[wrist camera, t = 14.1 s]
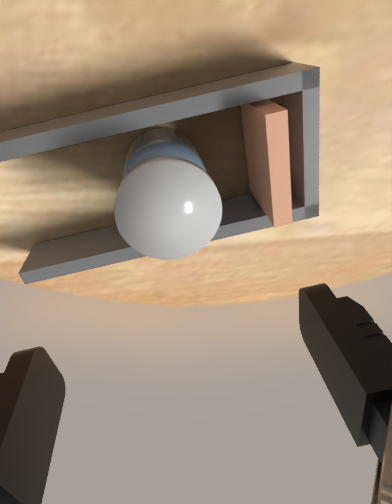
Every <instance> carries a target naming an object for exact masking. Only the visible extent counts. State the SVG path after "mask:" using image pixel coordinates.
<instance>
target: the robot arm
mask: <svg viewBox="0 0 392 504" xmlns="http://www.w3.org/2000/svg"><path fill="white" fill-rule="evenodd" d="M299 324H300V330H301V334H302V337H303V339H304V342H305V344H306V346H307V348H308V350H309V352H310V354H311V356H312V358H313V360H314V362H315V364H316V366H317V368H318V370H319V372H320V374H321V375H322V378H323V380H324V382H325V383H326V386H327V388H328V390H329V392H330V393H331V395H332V397H333V399H334V401H335V403H336V405H337V407H338V409H339V411H340V413H341V415H342V417H343V419H344V421H345V423H346V425H347V427H348V429H349V431H350V433H351V435H352V437H353V439H354V441H355V443H356V445H357V447H359V446H364V445H368V444H371V446H372V448H373V450H374V451H375V453H376V455H377V457H378V460H377V467H376V474H375V481H374V488H373V495H372V501H371V504H392V343H391V342H390V340H389V339H388V338H387V336H386V335H384V334H383V331H382V330H381V329H380V328H379V326H378V325H377V324H376V323H374V320H373V319H372V317H371V316H370V315H369V314H368V312H367V311H366V310H365V308H364V307H363V306H362V305H360V304H358V303H357V302H355V301H354V300H352V299H351V298H349V297H347V296H346V297H341V298H336V297H335V295H334V294H333V292H332V291H331V290H330V288H329V287H328V286H327V285H326V284H325V283H323V284H319V285H314V286H310V287H305V288H301V289H300V290H299ZM64 398H65V382H64V379H63V376H62V374H61V373H60V371H59V370H58V369H57V367H56V365H55V364H54V363H53V361H52V359H51V358H50V357H49V355H48V353H47V352H46V350H45V349H44V348H43V347H35V348H31V349H27V350H22V351H18V352H15V353H13V354H12V356H11V357H10V360H9V362H8V365H7V367H6V369H5V372H4V373H0V504H41V503H42V498H43V494H44V489H45V485H46V480H47V476H48V471H49V466H50V462H51V457H52V453H53V448H54V444H55V439H56V435H57V430H58V425H59V420H60V416H61V412H62V407H63V402H64Z"/></svg>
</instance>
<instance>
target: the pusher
mask: <svg viewBox="0 0 392 504" xmlns="http://www.w3.org/2000/svg"><path fill="white" fill-rule="evenodd" d="M240 107H241V115H242V124H243V132H244V141H245V150H246V158H247V167H248V175H249V184H250V191H251V193H252V194H253V196H254V197H255V199H256V200H257V202H258V204H259V205H260V207H261V208H262V210H263V211H264V213H265V214H266V216H267V217H268V219H269V220H270V222H271V223H272V225H273V226H274V227H278V226H282V225H286V224H290V223H293V222H292V200H291V177H290V154H289V131H288V110H287V109H285V108H283V107H281V106H280V105H278V104H276V103H274V102H272V101H270V100H268V99H265V100H260V101H256V102H252V103H248V104H243V105H240Z"/></svg>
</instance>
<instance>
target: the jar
mask: <svg viewBox="0 0 392 504" xmlns="http://www.w3.org/2000/svg"><path fill="white" fill-rule="evenodd" d="M114 217H115V222H116V225H117V228H118V230H119V233H120V234H121V236H122V237H123V239H124V240H125V241H126V242H127V243H128V244H129V245H130V246H131V247H132V248H134V249H135V250H136V251H138V252H140V253H142V254H144V255H146V256H149V257H152V258H157V259H178V258H182V257H186V256H189V255H191V254H193V253H195V252H197V251H199V250H200V249H202V248H203V247H204V246H205V245H206V244H208V243H209V241H210V240H211V239H212V238H213V237H214V235H215V234H216V232H217V230H218V228H219V225H220V222H221V218H222V202H221V198H220V195H219V192H218V190H217V187H216V185H215V183H214V182H213V180H212V178H211V177H210V176H209V175H208V173H207V171H206V169H205V167H204V165H203V162H202V160H201V158H200V155H199V153H198V151H197V149H196V147H195V145H194V144H193V142H192V141H191V140H190V139H189V138H188V137H187V136H185V135H184V134H182V133H181V132H179V131H176V130H174V129H170V128H156V129H151V130H148V131H146V132H144V133H143V134H141V135H140V136H138V137H137V138H136V139H135V140H134V141H133V143H132V144H131V146H130V147H129V150H128V152H127V155H126V160H125V166H124V172H123V177H122V182H121V184H120V186H119V188H118V192H117V195H116V200H115V206H114Z"/></svg>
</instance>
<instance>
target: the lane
mask: <svg viewBox="0 0 392 504" xmlns="http://www.w3.org/2000/svg"><path fill="white" fill-rule="evenodd" d="M319 82H320V67H316V66H311V65H305V64H300V63H294V62H293V63H289V64H285V65H281V66H276V67H272V68H268V69H264V70H259V71H255V72H251V73H247V74H242V75H238V76H234V77H230V78H226V79H221V80H217V81H213V82H209V83H204V84H200V85H196V86H192V87H187V88H183V89H179V90H175V91H171V92H166V93H162V94H158V95H154V96H149V97H145V98H141V99H137V100H133V101H128V102H124V103H120V104H116V105H111V106H107V107H103V108H99V109H94V110H90V111H86V112H82V113H78V114H73V115H69V116H65V117H61V118H56V119H52V120H48V121H44V122H39V123H35V124H31V125H27V126H23V127H18V128H14V129H10V130H6V131H1V132H0V162H2V161H6V160H10V159H14V158H19V157H23V156H27V155H31V154H36V153H40V152H44V151H48V150H53V149H57V148H61V147H65V146H70V145H74V144H78V143H82V142H86V141H91V140H95V139H99V138H103V137H108V136H112V135H116V134H120V133H125V132H129V131H133V130H137V129H142V128H146V127H150V126H154V125H159V124H163V123H167V122H171V121H176V120H180V119H184V118H188V117H192V116H197V115H201V114H205V113H209V112H214V111H218V110H222V109H226V108H231V107H235V106H239V105H243V104H248V103H252V102H256V101H260V100H265V99H269V98H273V97H277V96H281V107H283V108H285V109H287V110H288V131H289V154H290V177H291V200H292V222H295V221H299V220H303V219H308V218H312V217H316V216H319ZM221 202H222V218H221V222H220V225H219V228H218V230H217V232H216V234H215V235H214V237H213V238H212V239H211V240H210V241H213V240H218V239H222V238H226V237H230V236H235V235H239V234H243V233H248V232H252V231H256V230H260V229H265V228H269V227H273V225H272V223H271V222H270V220H269V219H268V217H267V216H266V214H265V213H264V211H263V210H262V208H261V207H260V205H259V204H258V202H257V200H256V199H255V197H254V196H253V194H252V193H250V194H246V195H242V196H237V197H233V198H229V199H225V200H221ZM145 256H146V255H144V254H142V253H140V252H138V251H136V250H135V249H134V248H132V247H131V246H130V245H129V244H128V243H127V242H126V241H125V240H124V239H123V237H122V236H121V234H120V233H119V230H118V228H117V225H113V226H109V227H105V228H101V229H96V230H92V231H88V232H83V233H79V234H75V235H71V236H66V237H62V238H58V239H54V240H49V241H45V242H41V243H36V244H34V246H33V248H32V249H31V251H30V253H29V255H28V257H27V259H26V260H25V262H24V264H23V266H22V268H21V270H20V272H19V275H20V277H21V278H22V280H23V282H24V283H25V284H29V283H33V282H37V281H42V280H46V279H50V278H54V277H59V276H63V275H67V274H72V273H76V272H80V271H84V270H89V269H93V268H97V267H102V266H106V265H110V264H115V263H119V262H123V261H127V260H132V259H136V258H140V257H145Z"/></svg>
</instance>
